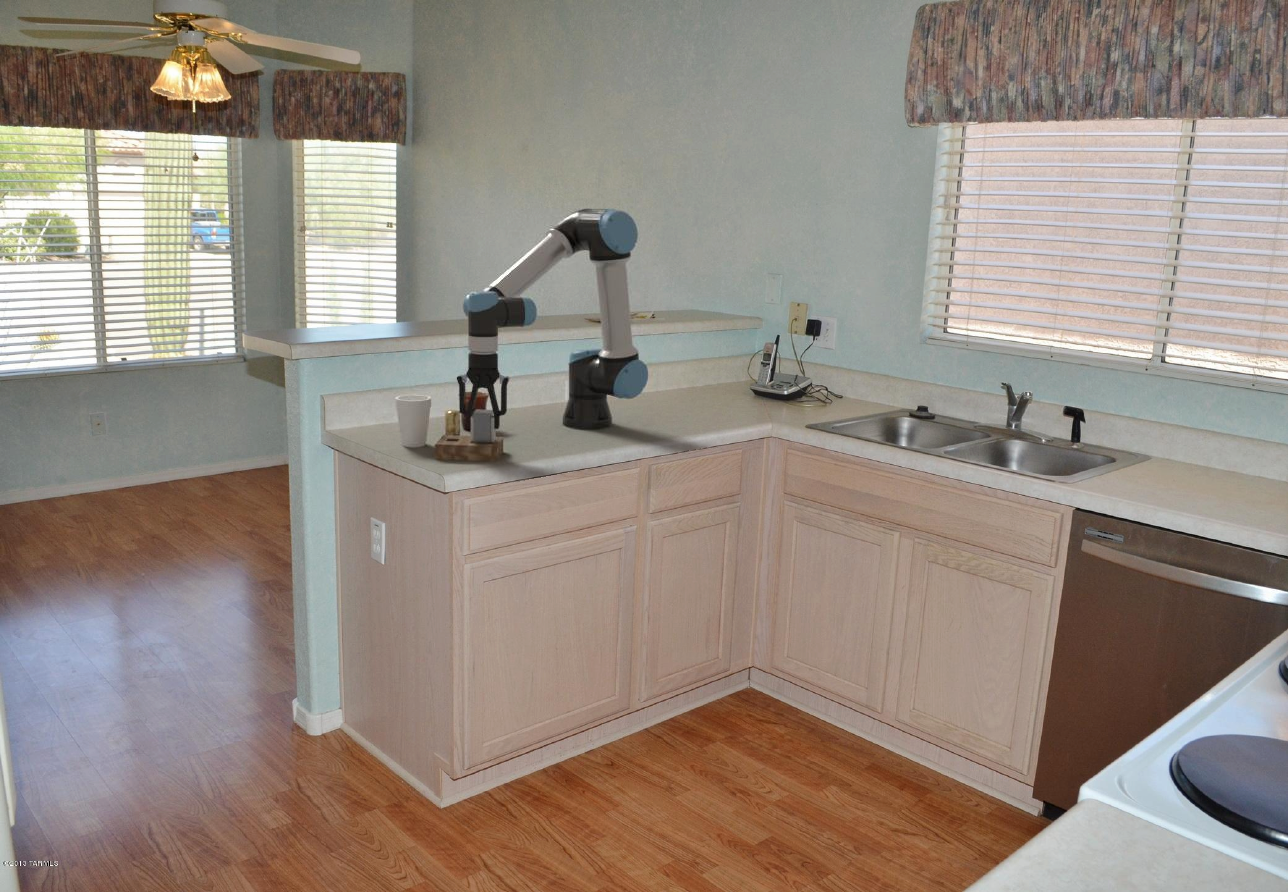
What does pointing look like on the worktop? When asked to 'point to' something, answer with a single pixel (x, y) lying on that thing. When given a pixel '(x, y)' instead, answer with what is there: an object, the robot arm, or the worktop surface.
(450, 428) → the brass dowel
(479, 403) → the mug
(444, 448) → the socket block
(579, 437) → the worktop surface
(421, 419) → the foam cup
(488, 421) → the square bit
